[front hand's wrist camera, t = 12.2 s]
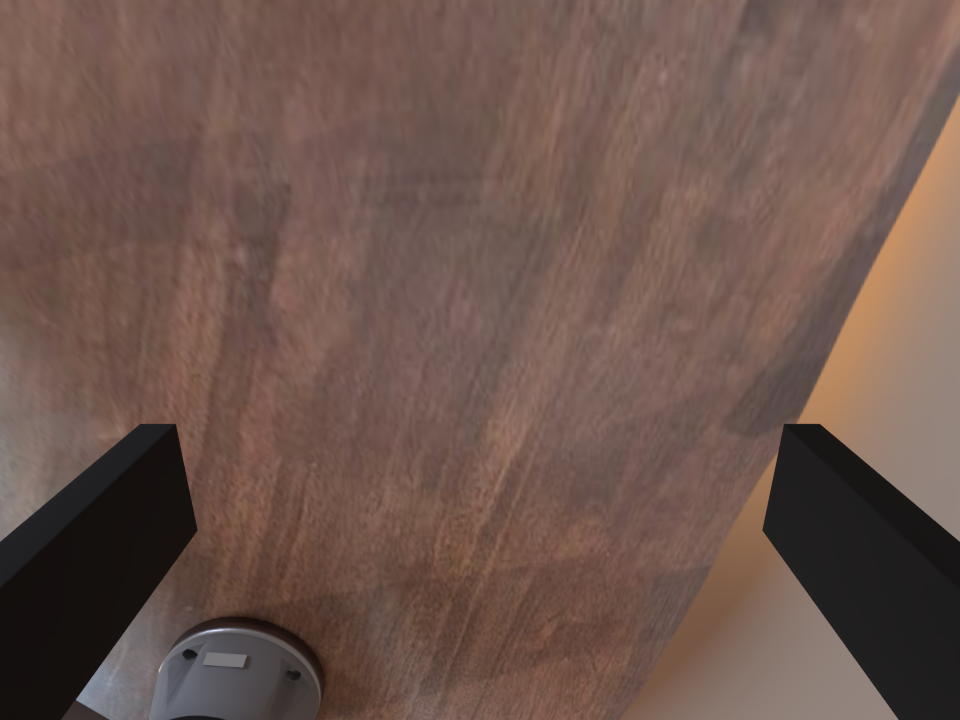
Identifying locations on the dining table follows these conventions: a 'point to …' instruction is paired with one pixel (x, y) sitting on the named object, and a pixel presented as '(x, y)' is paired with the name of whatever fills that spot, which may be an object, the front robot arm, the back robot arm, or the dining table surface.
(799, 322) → the dining table surface
